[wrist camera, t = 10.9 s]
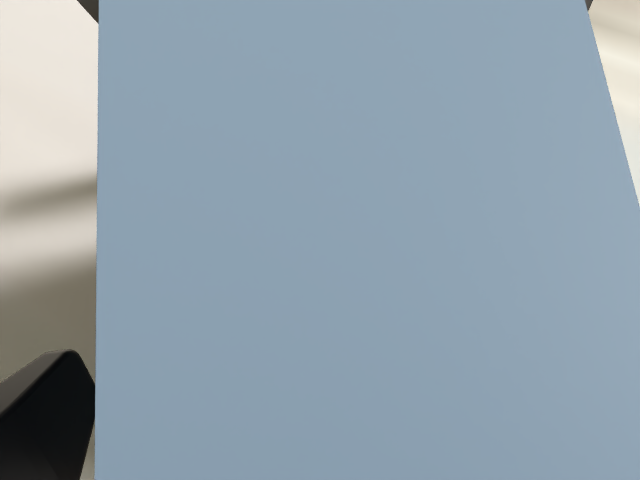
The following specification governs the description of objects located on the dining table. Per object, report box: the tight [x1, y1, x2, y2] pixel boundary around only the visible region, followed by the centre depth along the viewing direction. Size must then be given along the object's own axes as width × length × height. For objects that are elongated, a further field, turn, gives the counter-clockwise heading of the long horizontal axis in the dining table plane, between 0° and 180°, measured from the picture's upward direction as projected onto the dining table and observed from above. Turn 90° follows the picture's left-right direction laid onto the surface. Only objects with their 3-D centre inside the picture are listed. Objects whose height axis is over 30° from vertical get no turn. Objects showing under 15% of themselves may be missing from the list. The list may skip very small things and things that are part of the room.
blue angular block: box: [95, 0, 640, 480], centre depth 10 cm, size 7×4×12 cm, turn 6°
